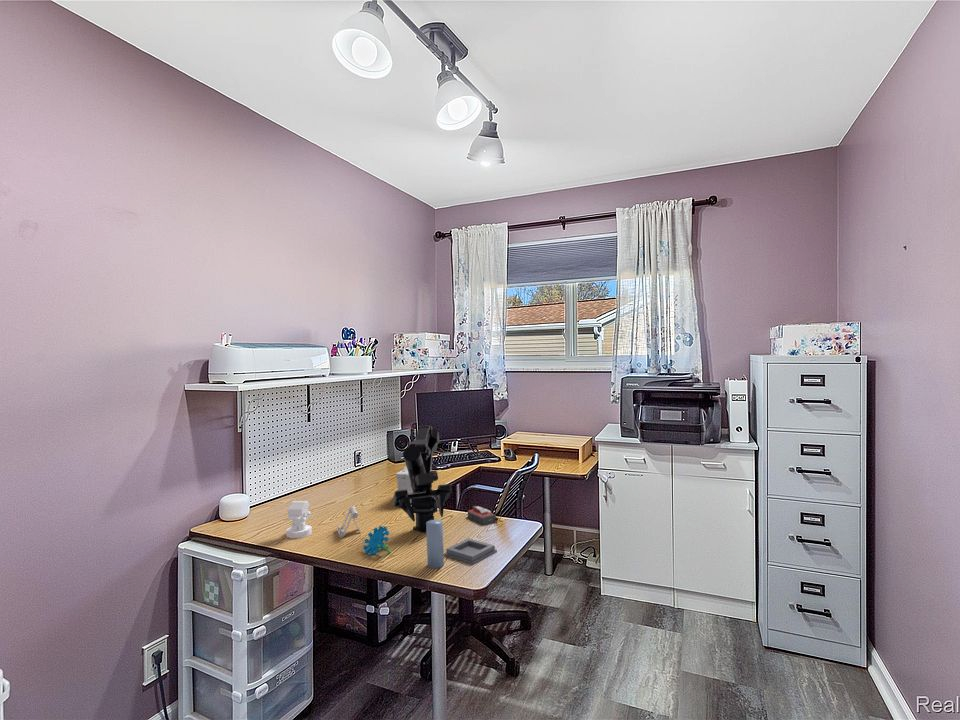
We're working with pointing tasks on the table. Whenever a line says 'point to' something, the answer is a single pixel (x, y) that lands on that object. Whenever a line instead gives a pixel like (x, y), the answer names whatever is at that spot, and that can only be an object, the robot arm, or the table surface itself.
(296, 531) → the character figurine
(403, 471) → the stereo radio cassette player
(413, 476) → the robot arm
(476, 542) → the grey square recessed dock
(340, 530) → the portable electronic device stand
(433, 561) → the blue-grey rounded knob
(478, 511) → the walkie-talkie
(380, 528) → the gear
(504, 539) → the table surface
